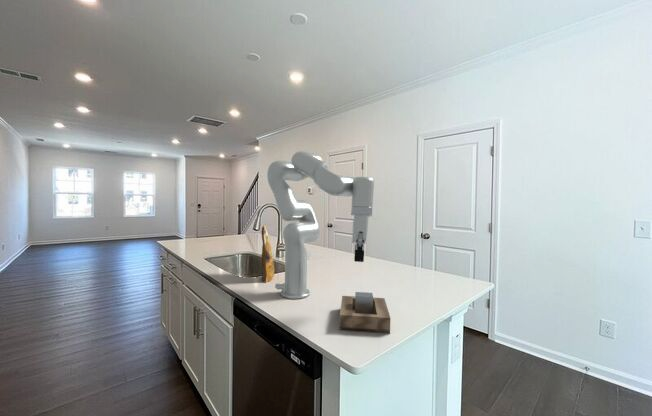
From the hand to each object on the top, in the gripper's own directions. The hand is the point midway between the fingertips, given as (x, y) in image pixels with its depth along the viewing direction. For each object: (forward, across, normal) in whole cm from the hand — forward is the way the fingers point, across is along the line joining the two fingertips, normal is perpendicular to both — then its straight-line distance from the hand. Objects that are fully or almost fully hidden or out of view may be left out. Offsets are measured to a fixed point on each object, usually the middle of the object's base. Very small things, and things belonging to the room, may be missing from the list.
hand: (358, 258), depth 102 cm
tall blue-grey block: (+20, +4, +3) cm, 20 cm away
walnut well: (+21, +4, +3) cm, 21 cm away
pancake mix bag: (+24, -39, -47) cm, 65 cm away
